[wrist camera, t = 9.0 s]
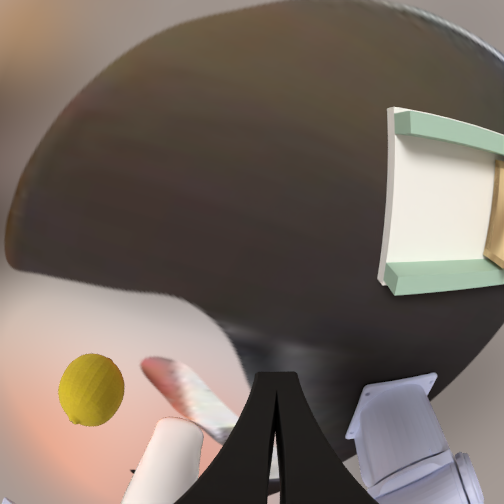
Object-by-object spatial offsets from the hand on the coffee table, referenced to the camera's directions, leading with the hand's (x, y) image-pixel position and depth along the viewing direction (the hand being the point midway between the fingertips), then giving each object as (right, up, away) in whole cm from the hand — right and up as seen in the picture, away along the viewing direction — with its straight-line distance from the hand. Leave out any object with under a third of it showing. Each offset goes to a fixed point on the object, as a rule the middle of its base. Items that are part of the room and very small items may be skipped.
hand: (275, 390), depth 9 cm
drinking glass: (-9, -14, +17) cm, 24 cm away
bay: (+15, +8, +6) cm, 18 cm away
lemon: (-14, -5, +13) cm, 20 cm away
